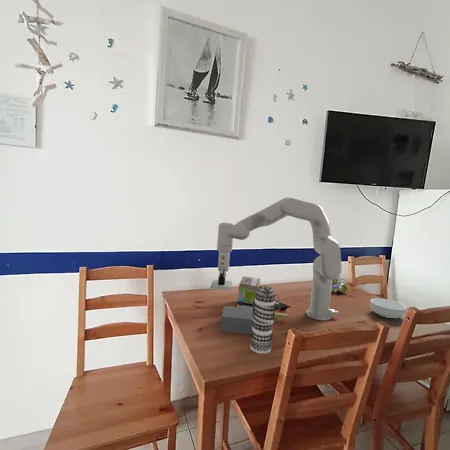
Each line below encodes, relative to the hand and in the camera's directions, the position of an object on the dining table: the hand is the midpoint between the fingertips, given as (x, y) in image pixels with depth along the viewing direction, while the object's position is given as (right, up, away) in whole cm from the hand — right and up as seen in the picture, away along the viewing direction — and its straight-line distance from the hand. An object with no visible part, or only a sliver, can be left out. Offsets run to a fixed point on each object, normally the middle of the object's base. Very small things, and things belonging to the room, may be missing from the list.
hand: (221, 282), depth 152 cm
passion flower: (+75, -15, +46) cm, 89 cm away
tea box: (+14, -15, +10) cm, 23 cm away
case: (+9, -18, -15) cm, 25 cm away
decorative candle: (+16, -20, -31) cm, 40 cm away
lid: (0, -2, 0) cm, 2 cm away
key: (+27, -18, -4) cm, 32 cm away
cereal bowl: (+89, -20, +11) cm, 92 cm away
